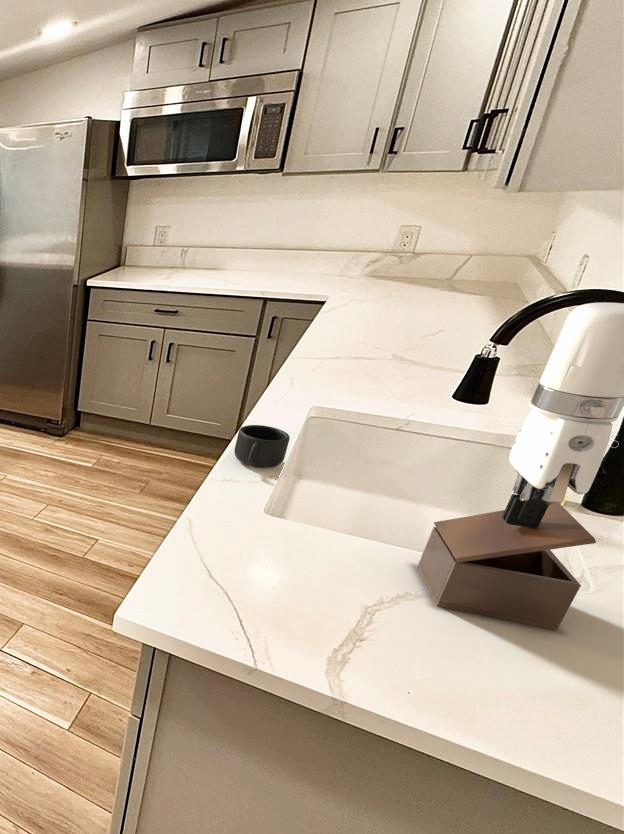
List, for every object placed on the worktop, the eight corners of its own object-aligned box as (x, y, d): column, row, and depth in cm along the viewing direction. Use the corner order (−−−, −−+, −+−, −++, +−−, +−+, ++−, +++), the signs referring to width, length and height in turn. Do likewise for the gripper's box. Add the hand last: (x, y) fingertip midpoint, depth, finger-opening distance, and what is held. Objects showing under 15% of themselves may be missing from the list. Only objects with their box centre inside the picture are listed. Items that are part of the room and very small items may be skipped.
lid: (558, 505, 87) (557, 500, 87) (596, 543, 79) (594, 537, 79) (435, 526, 95) (433, 522, 95) (457, 562, 87) (455, 558, 87)
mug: (239, 450, 139) (246, 421, 136) (286, 461, 133) (294, 431, 130) (222, 468, 132) (229, 438, 129) (272, 481, 126) (280, 450, 123)
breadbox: (524, 587, 93) (546, 544, 89) (556, 630, 84) (581, 585, 81) (416, 567, 98) (433, 526, 95) (436, 606, 90) (455, 562, 87)
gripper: (654, 426, 71) (584, 558, 78) (589, 386, 83) (533, 503, 90) (561, 418, 74) (502, 544, 82) (511, 380, 86) (464, 494, 94)
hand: (519, 523), depth 86 cm, fingers closed
